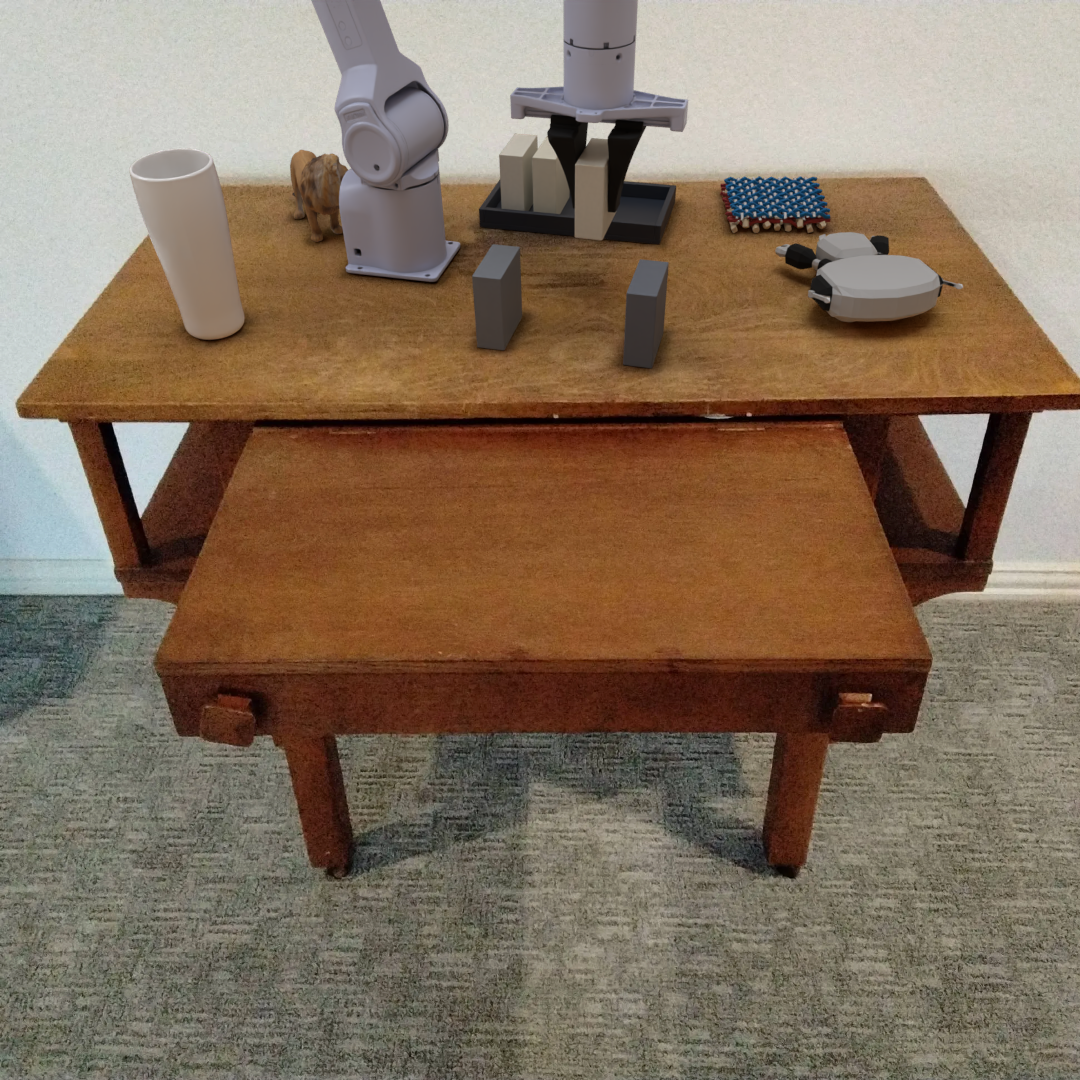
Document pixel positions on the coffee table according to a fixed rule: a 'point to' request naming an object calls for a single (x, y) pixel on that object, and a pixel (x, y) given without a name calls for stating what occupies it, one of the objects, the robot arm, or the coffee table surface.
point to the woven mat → (774, 203)
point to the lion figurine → (317, 188)
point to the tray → (633, 220)
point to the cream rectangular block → (592, 191)
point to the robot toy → (865, 278)
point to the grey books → (503, 304)
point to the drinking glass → (191, 237)
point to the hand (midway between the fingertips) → (596, 206)
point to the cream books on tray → (532, 176)
